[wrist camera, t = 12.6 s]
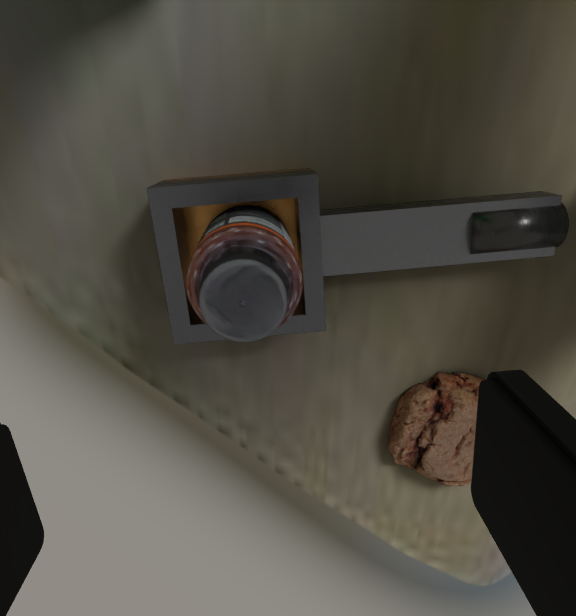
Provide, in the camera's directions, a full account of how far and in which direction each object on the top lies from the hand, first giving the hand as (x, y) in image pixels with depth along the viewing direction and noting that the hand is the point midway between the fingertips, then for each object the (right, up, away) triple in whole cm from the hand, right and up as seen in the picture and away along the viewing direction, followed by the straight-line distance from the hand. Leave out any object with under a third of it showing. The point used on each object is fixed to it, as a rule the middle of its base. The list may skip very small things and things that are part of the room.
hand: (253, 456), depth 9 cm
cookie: (+14, -7, +30) cm, 34 cm away
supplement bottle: (-2, +7, +22) cm, 23 cm away
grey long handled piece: (+6, +8, +23) cm, 25 cm away
